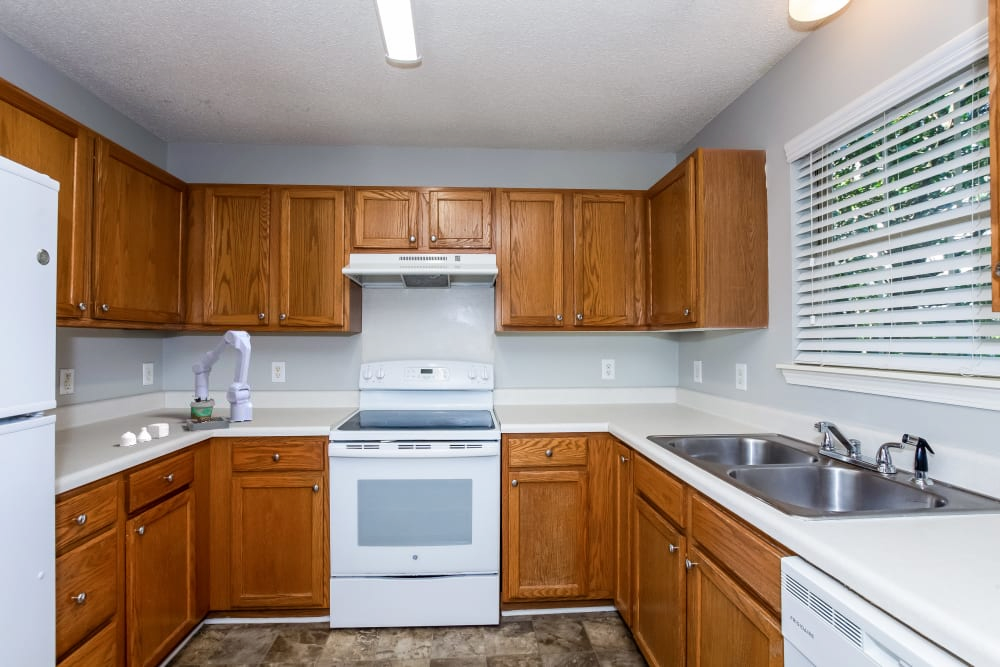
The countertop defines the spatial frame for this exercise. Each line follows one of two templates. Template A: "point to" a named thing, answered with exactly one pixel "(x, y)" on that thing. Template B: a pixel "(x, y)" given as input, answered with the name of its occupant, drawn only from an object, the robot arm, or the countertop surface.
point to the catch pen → (208, 425)
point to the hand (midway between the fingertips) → (201, 413)
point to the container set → (145, 434)
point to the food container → (201, 410)
